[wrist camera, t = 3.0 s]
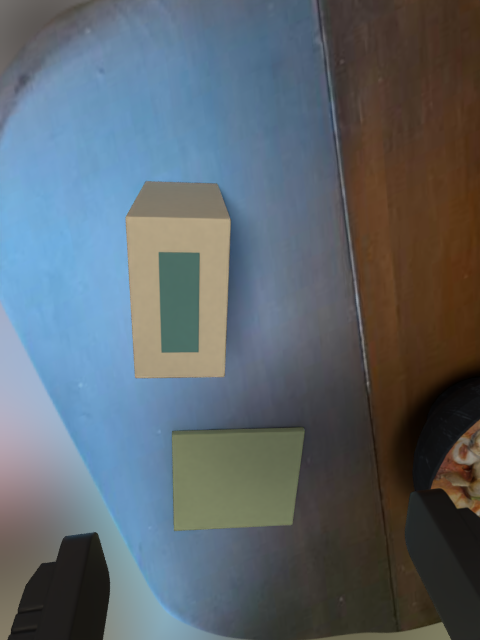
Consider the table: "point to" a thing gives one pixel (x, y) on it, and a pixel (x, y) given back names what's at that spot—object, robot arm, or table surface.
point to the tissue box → (178, 279)
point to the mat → (235, 477)
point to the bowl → (452, 446)
